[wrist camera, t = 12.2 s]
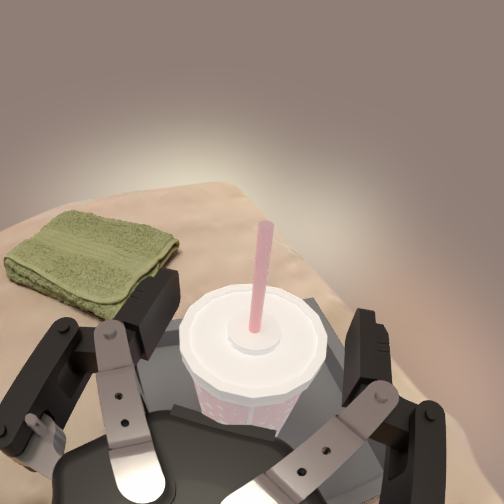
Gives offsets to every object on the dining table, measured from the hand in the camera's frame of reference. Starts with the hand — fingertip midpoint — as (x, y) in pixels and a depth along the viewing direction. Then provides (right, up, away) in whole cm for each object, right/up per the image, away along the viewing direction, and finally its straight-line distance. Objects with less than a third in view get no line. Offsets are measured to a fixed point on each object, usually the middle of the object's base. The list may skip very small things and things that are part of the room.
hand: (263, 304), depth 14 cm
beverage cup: (-1, -8, +4) cm, 10 cm away
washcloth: (-18, +1, +17) cm, 25 cm away
